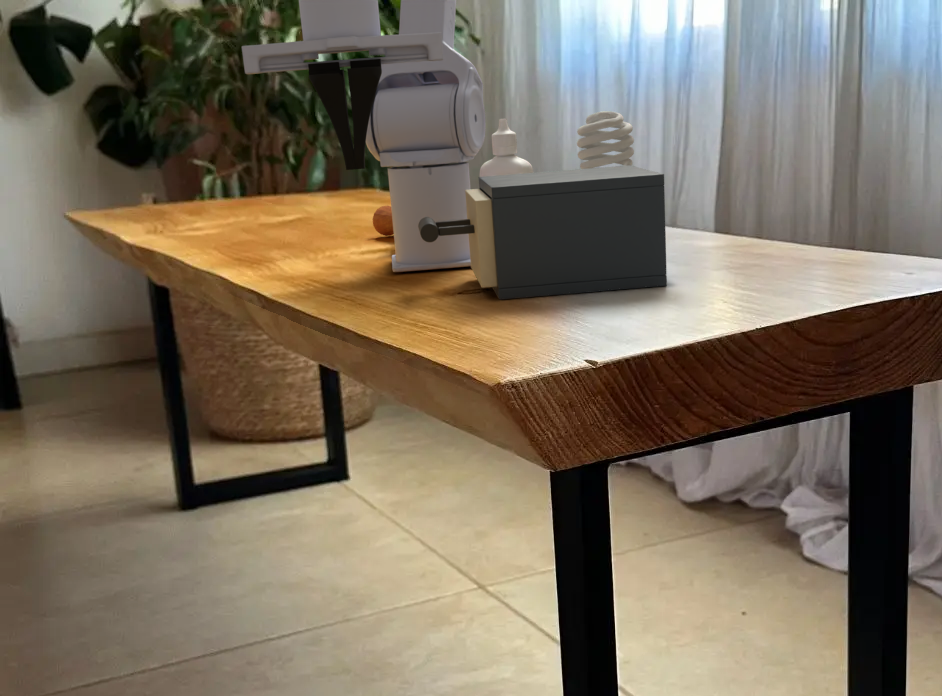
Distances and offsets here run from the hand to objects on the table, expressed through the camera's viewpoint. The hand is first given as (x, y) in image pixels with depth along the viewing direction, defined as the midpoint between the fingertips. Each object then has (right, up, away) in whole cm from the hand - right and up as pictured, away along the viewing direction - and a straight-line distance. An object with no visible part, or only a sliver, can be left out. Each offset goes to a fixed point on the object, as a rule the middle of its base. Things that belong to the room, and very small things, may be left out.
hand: (355, 168), depth 93 cm
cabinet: (+17, -8, +4) cm, 19 cm away
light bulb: (+22, +2, +31) cm, 38 cm away
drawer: (+13, -7, +4) cm, 15 cm away
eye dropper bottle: (+12, +1, +30) cm, 33 cm away
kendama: (+1, +2, +36) cm, 37 cm away
